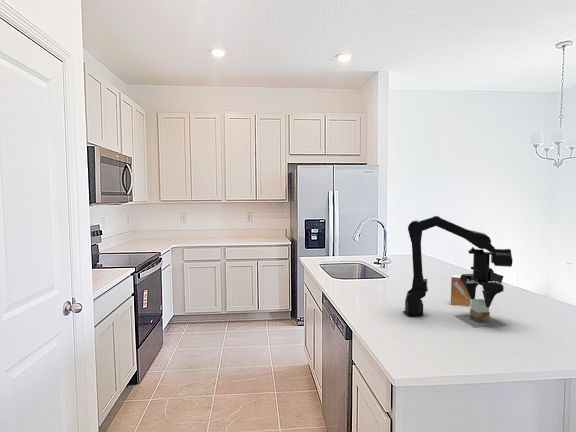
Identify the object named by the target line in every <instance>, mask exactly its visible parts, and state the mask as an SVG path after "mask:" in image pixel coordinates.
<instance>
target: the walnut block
mask: <svg viewBox="0 0 576 432" xmlns="http://www.w3.org/2000/svg"><path fill="white" fill-rule="evenodd" d="M469 315H470V319H472V320H473V321H475V322H477V323H484V322H490V317H491V312H490V311H489V312H481V313H478V312H476V311H474V310H472V309H471V308H470V309H469Z"/></svg>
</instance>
